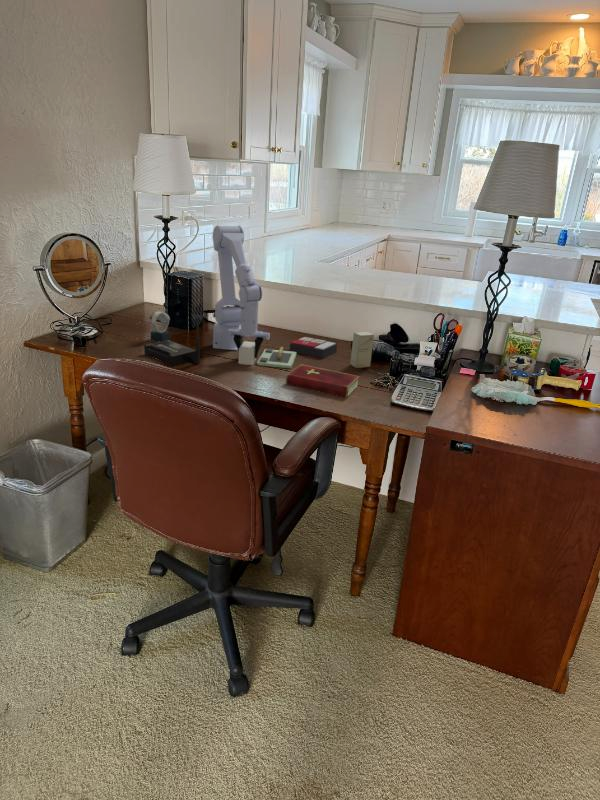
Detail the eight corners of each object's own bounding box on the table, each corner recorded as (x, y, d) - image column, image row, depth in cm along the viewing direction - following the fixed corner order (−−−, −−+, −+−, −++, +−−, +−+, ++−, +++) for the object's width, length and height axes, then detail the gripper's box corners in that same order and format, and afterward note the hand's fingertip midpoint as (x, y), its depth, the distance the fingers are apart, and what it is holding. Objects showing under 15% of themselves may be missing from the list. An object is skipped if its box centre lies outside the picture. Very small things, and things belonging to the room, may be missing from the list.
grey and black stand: (140, 356, 197) (138, 308, 190) (172, 348, 207) (171, 303, 200) (176, 371, 185) (175, 321, 179) (208, 362, 195) (208, 315, 189)
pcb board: (257, 365, 195) (257, 354, 194) (264, 351, 210) (265, 341, 208) (290, 368, 194) (291, 357, 193) (296, 354, 209) (297, 344, 208)
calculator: (304, 335, 221) (337, 341, 214) (303, 346, 223) (337, 352, 216) (289, 341, 212) (323, 348, 205) (289, 352, 214) (323, 359, 207)
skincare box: (356, 368, 199) (359, 335, 195) (349, 364, 203) (353, 332, 198) (370, 366, 202) (374, 334, 198) (363, 362, 206) (367, 330, 201)
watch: (172, 338, 217) (172, 311, 212) (159, 343, 210) (158, 315, 206) (160, 336, 219) (160, 308, 214) (147, 341, 212) (146, 312, 208)
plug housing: (238, 363, 195) (238, 348, 193) (243, 355, 204) (244, 340, 202) (252, 365, 195) (253, 349, 193) (257, 357, 203) (257, 342, 201)
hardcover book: (346, 399, 173) (348, 386, 172) (285, 385, 180) (286, 373, 179) (358, 387, 184) (359, 375, 182) (300, 375, 191) (300, 363, 189)
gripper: (226, 320, 190) (225, 357, 196) (268, 324, 189) (266, 362, 195) (231, 315, 197) (230, 351, 202) (271, 319, 196) (269, 355, 201)
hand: (248, 356), depth 199 cm, fingers closed on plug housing, 5 cm apart
